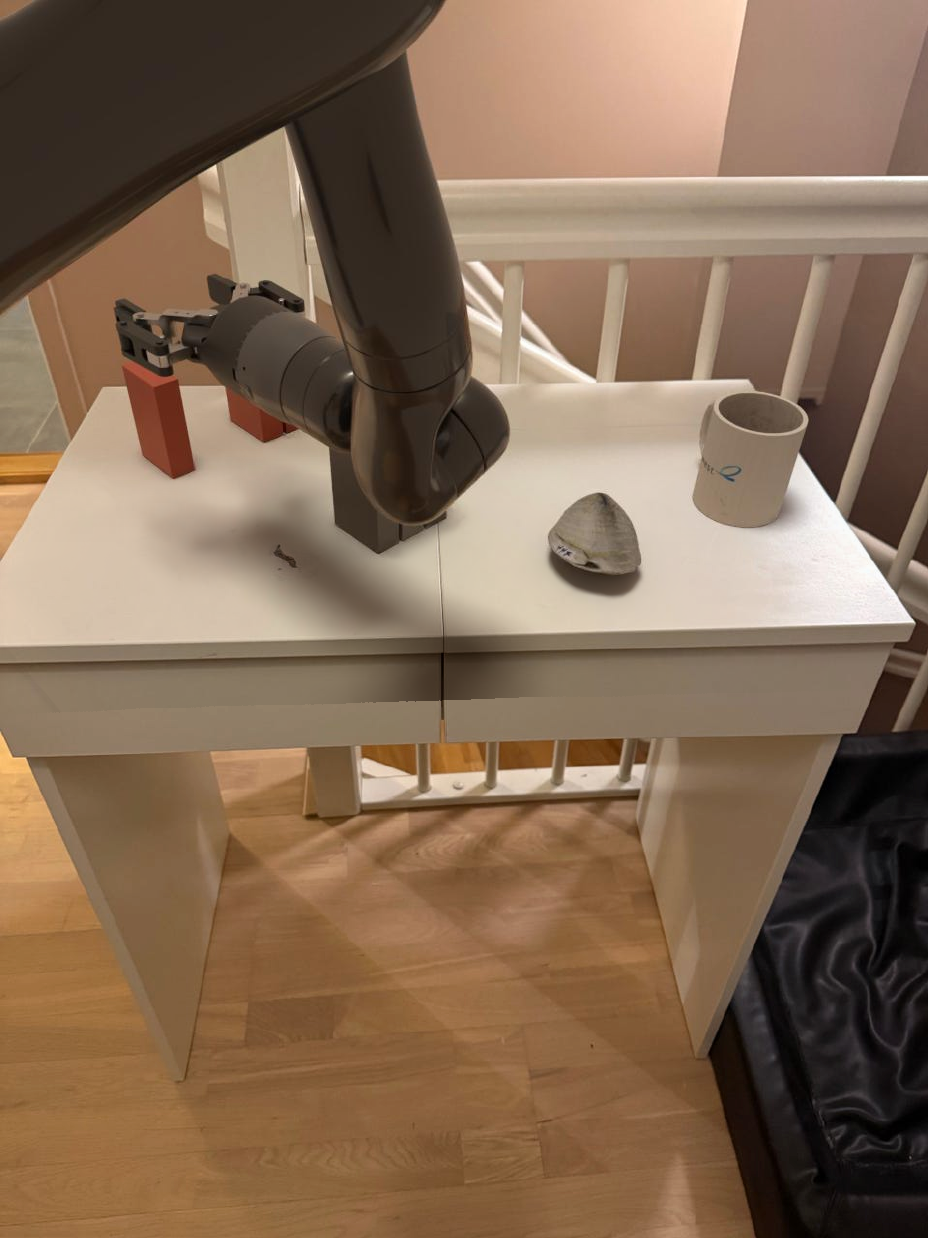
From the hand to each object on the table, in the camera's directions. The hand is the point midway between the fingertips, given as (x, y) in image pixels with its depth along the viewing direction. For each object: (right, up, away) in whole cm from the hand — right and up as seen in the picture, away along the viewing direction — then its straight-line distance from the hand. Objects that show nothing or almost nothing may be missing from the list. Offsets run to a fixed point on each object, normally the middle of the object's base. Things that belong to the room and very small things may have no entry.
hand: (167, 297), depth 76 cm
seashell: (+37, -21, +7) cm, 43 cm away
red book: (-5, -11, +17) cm, 21 cm away
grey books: (+18, -18, +10) cm, 27 cm away
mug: (+52, -14, +16) cm, 56 cm away
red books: (+4, -5, +24) cm, 25 cm away
